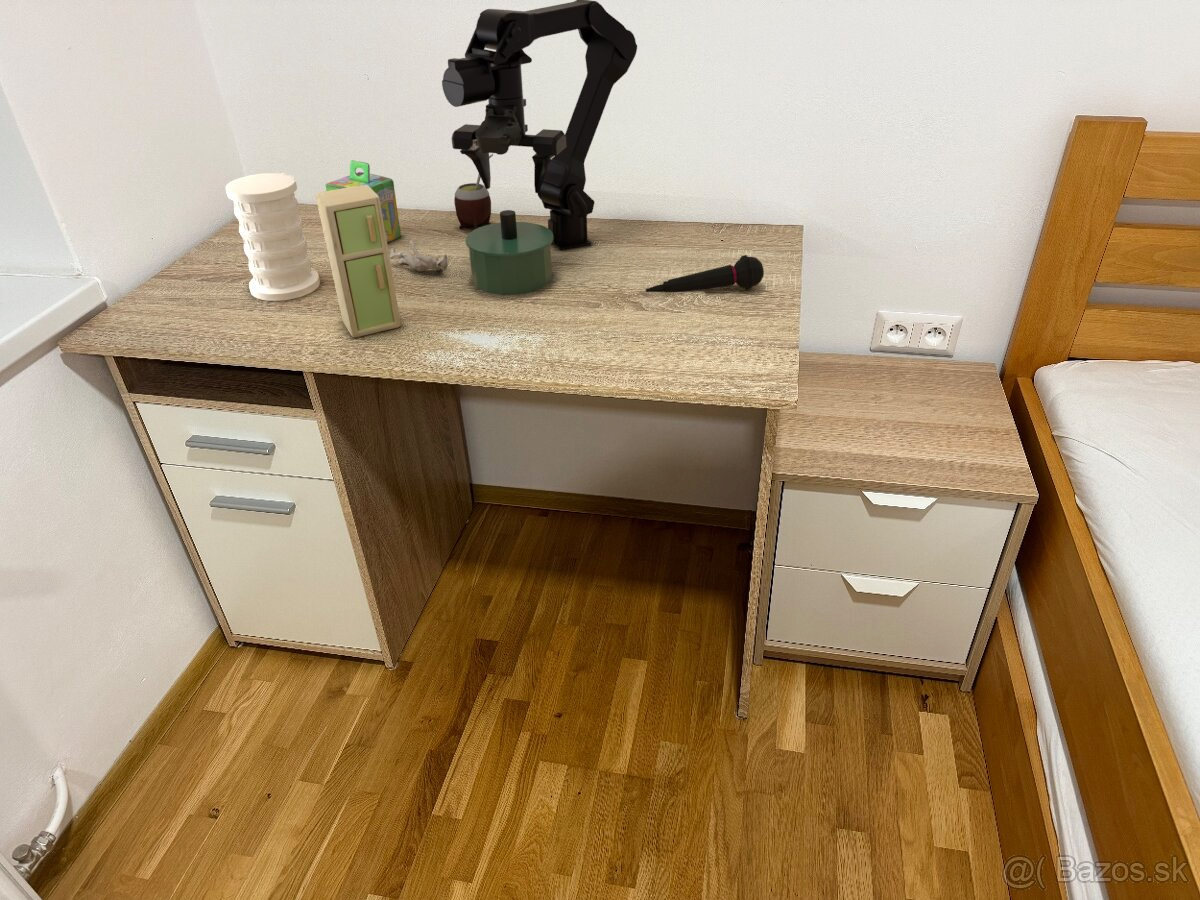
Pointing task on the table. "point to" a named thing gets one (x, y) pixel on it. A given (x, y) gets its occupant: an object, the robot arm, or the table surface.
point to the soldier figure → (420, 260)
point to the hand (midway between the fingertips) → (512, 190)
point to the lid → (509, 237)
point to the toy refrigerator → (359, 259)
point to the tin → (511, 272)
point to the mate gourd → (473, 205)
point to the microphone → (717, 277)
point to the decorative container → (273, 236)
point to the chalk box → (381, 188)
